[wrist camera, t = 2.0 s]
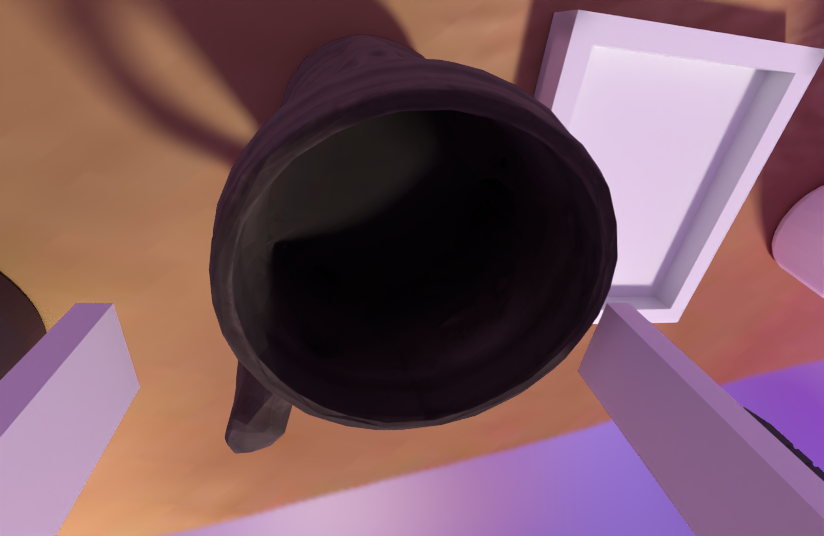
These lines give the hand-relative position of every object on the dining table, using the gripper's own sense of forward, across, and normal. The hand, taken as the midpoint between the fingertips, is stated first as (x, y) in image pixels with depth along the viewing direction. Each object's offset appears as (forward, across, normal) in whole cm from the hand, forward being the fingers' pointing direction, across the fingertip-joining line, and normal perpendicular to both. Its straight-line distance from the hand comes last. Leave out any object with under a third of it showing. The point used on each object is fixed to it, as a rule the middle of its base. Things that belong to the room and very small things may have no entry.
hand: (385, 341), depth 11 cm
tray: (+19, +20, -1) cm, 28 cm away
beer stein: (+19, 0, 0) cm, 19 cm away
